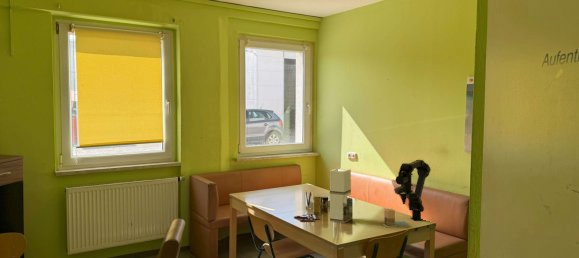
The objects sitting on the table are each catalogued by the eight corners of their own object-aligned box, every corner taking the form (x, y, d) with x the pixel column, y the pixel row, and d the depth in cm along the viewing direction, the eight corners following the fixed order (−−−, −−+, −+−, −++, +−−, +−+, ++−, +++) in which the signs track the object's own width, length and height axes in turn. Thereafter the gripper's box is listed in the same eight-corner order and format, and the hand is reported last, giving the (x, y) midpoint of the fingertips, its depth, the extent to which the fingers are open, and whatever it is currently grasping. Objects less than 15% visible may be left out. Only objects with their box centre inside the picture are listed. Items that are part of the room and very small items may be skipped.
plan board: (379, 224, 285) (379, 223, 285) (403, 222, 288) (403, 221, 288) (386, 229, 274) (386, 227, 274) (411, 227, 277) (411, 225, 277)
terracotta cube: (384, 216, 282) (384, 209, 282) (391, 216, 283) (391, 208, 283) (387, 218, 277) (387, 210, 277) (394, 218, 278) (394, 210, 278)
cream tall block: (344, 223, 290) (343, 171, 288) (330, 221, 295) (329, 170, 293) (351, 219, 299) (350, 169, 298) (337, 217, 305) (336, 168, 303)
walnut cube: (384, 224, 282) (384, 216, 282) (391, 223, 283) (391, 216, 283) (387, 226, 277) (387, 218, 277) (394, 225, 278) (394, 218, 278)
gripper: (389, 180, 293) (389, 203, 293) (402, 185, 274) (402, 209, 275) (404, 179, 295) (404, 202, 296) (418, 184, 277) (418, 208, 277)
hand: (407, 205), depth 286 cm, fingers open, 9 cm apart
